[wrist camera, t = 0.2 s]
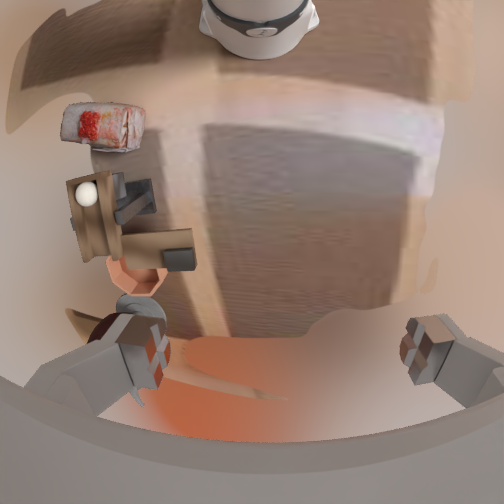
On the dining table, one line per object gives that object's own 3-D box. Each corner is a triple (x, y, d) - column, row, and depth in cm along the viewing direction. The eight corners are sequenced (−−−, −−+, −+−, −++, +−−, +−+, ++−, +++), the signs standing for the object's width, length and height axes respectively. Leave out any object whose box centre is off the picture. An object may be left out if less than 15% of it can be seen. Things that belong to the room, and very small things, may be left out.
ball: (83, 183, 35) (69, 184, 32) (102, 179, 35) (88, 180, 32) (86, 206, 36) (72, 209, 33) (104, 203, 36) (91, 206, 33)
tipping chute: (94, 173, 40) (65, 181, 33) (192, 155, 39) (175, 159, 32) (110, 257, 46) (87, 277, 38) (204, 251, 45) (192, 274, 37)
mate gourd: (104, 306, 58) (64, 366, 41) (136, 278, 54) (93, 345, 36) (150, 348, 64) (124, 412, 46) (187, 326, 59) (164, 400, 42)
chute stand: (99, 187, 46) (64, 207, 35) (150, 178, 45) (121, 197, 35) (106, 217, 48) (74, 242, 38) (156, 211, 48) (130, 237, 37)
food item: (153, 104, 39) (127, 102, 30) (145, 149, 43) (118, 158, 34) (88, 101, 38) (55, 102, 29) (83, 142, 42) (50, 151, 33)
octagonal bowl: (111, 235, 50) (100, 245, 46) (161, 231, 49) (152, 241, 45) (125, 284, 55) (117, 296, 51) (173, 283, 54) (167, 296, 50)
